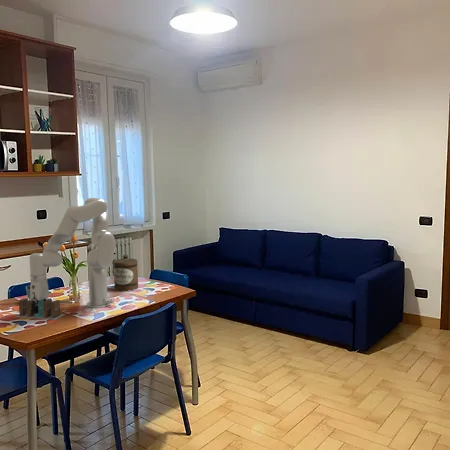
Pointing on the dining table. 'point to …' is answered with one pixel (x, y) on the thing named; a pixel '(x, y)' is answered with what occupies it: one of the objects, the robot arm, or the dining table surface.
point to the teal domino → (39, 308)
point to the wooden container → (125, 274)
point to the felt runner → (40, 317)
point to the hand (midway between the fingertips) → (39, 310)
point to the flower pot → (28, 291)
